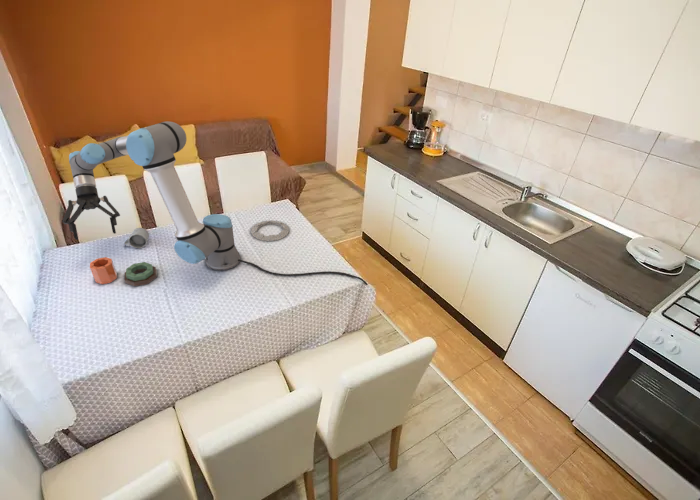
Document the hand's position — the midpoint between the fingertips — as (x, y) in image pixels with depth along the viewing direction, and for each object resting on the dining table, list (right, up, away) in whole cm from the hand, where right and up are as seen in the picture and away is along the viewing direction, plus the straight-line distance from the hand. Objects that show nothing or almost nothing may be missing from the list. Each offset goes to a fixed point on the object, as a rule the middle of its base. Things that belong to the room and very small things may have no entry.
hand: (95, 235), depth 158 cm
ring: (+64, +4, +42) cm, 77 cm away
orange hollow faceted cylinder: (+3, -18, +3) cm, 18 cm away
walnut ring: (+16, -17, +5) cm, 24 cm away
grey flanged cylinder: (+4, -3, +25) cm, 25 cm away
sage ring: (+16, -16, +4) cm, 23 cm away
